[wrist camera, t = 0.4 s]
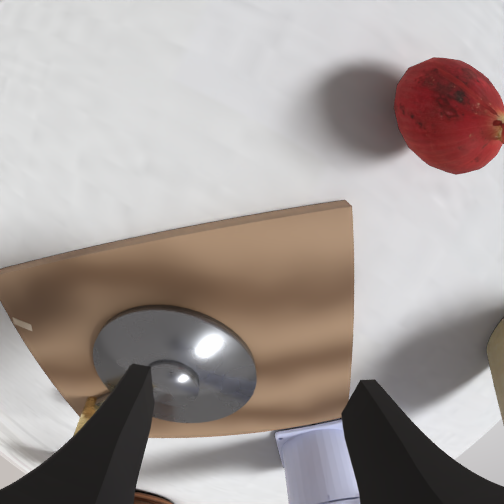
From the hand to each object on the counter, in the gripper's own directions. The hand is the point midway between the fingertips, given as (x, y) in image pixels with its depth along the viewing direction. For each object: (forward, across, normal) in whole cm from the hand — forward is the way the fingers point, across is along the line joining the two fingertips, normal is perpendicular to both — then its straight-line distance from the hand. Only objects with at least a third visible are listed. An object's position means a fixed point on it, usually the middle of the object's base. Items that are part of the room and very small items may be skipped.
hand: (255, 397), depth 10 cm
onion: (+10, -8, -11) cm, 17 cm away
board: (+10, +4, +9) cm, 14 cm away
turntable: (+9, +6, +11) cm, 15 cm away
